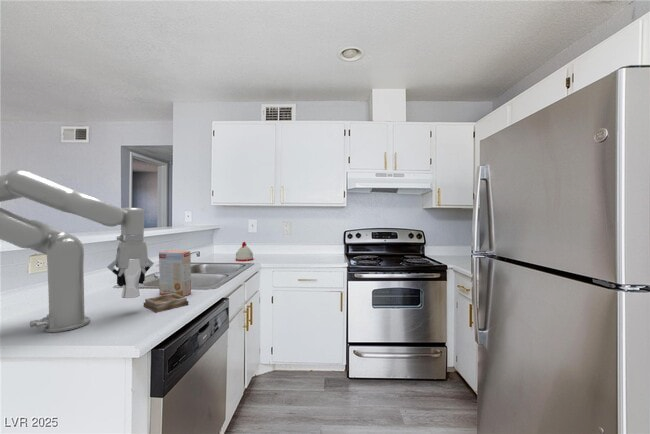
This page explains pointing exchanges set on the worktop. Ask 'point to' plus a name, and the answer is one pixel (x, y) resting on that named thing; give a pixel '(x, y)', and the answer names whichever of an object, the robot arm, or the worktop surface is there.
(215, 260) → the worktop surface
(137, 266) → the beer glass
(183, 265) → the cracker box
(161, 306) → the brown square tray
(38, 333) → the worktop surface
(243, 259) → the cream dome with knob
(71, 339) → the worktop surface
